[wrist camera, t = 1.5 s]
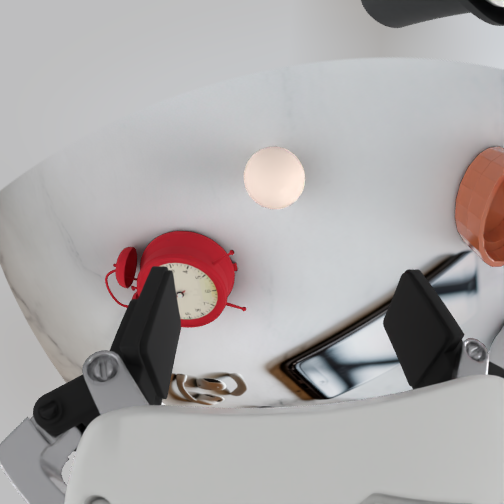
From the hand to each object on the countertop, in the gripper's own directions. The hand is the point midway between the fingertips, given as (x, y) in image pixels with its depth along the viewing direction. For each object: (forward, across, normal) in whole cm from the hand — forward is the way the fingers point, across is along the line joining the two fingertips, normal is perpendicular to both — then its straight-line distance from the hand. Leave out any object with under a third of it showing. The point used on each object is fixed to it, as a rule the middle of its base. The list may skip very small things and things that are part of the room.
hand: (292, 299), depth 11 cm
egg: (+17, 0, -1) cm, 17 cm away
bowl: (+16, -28, -1) cm, 33 cm away
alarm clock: (+17, +10, +11) cm, 22 cm away
